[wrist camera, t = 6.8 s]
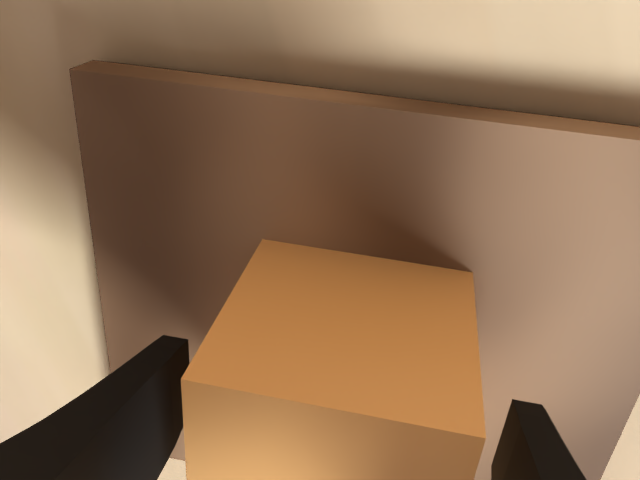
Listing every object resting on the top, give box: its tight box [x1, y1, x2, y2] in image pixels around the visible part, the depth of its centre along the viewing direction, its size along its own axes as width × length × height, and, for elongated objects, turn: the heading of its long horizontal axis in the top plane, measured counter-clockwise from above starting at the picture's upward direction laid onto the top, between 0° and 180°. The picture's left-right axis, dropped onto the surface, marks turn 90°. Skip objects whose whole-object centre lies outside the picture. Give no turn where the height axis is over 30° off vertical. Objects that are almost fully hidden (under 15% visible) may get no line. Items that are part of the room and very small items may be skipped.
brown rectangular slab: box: [69, 60, 640, 480], centre depth 14 cm, size 14×12×5 cm
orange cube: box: [181, 239, 486, 480], centre depth 13 cm, size 5×5×5 cm
